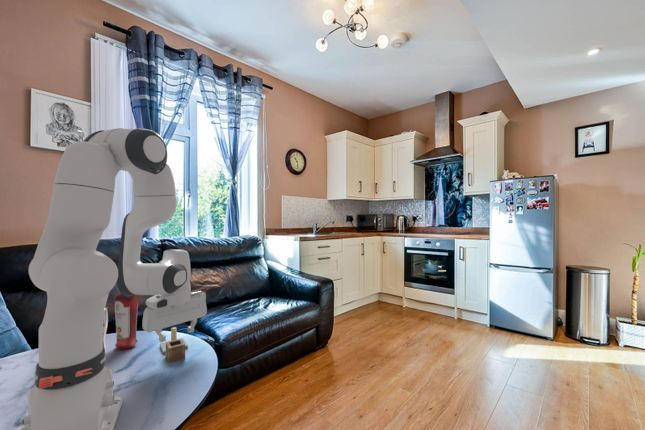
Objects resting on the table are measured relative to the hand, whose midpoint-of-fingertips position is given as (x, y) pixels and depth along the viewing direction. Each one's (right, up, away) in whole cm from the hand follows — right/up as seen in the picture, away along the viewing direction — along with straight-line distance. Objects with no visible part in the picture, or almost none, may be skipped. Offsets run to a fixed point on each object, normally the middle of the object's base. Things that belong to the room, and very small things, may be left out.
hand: (177, 336), depth 99 cm
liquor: (-23, -7, +8) cm, 25 cm away
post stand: (-5, -7, +8) cm, 12 cm away
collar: (0, -7, 0) cm, 7 cm away
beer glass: (-31, -7, +4) cm, 32 cm away
